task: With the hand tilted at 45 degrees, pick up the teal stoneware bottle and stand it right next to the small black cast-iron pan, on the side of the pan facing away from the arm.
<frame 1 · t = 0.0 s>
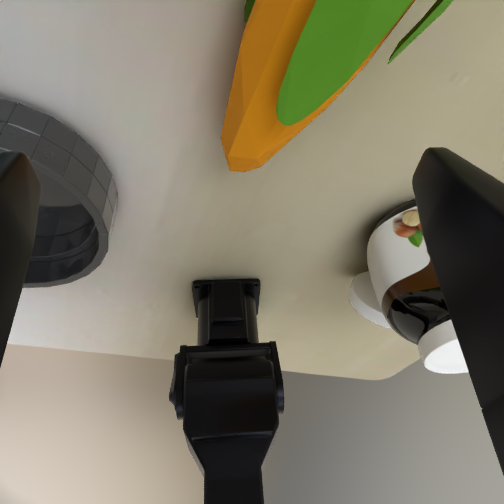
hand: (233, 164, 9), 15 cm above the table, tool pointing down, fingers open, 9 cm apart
pan: (18, 179, 27), on the table
spread jar: (405, 239, 35), on the table
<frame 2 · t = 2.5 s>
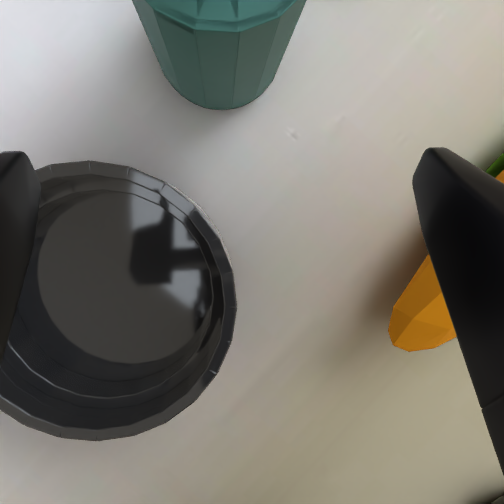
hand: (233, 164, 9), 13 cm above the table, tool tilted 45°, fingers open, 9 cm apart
bottle: (219, 45, 22), on the table
pan: (118, 286, 23), on the table
corn: (495, 220, 24), on the table
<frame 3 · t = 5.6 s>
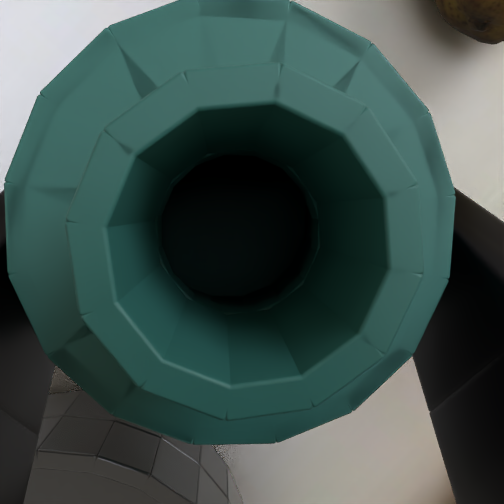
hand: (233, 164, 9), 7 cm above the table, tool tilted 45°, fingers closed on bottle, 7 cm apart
bottle: (227, 219, 16), on the table, touching gripper
when the fingers open (7 cm above the table, at t = 11.6 s): bottle stays where it is, on the table.
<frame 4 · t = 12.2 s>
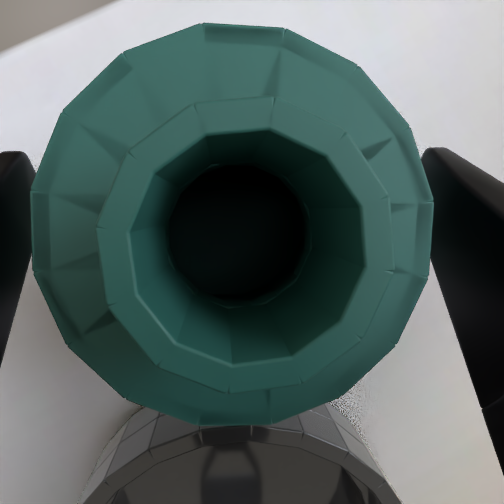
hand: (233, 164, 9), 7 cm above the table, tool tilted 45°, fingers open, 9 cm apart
bottle: (228, 220, 17), on the table
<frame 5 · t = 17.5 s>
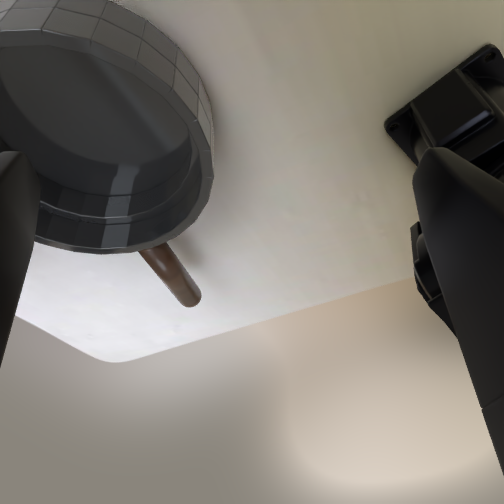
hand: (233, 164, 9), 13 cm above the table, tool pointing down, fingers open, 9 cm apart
pan handle: (170, 270, 28), point 3 cm above the table
pan: (95, 118, 22), on the table
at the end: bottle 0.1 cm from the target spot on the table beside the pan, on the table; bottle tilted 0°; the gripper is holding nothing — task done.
